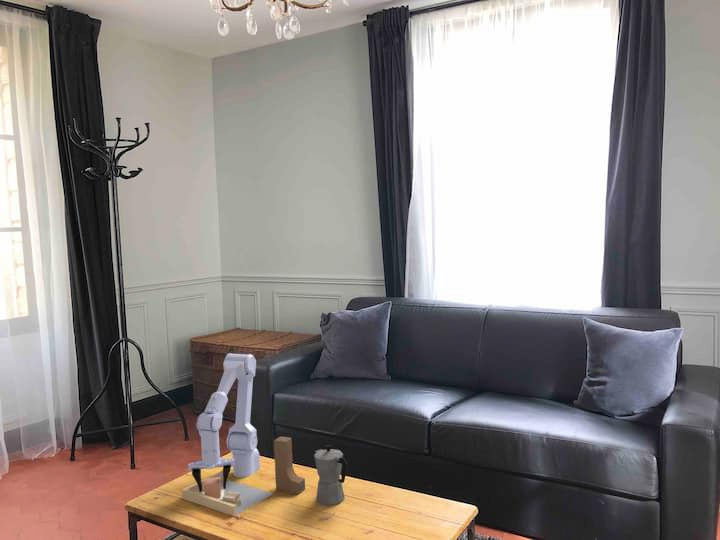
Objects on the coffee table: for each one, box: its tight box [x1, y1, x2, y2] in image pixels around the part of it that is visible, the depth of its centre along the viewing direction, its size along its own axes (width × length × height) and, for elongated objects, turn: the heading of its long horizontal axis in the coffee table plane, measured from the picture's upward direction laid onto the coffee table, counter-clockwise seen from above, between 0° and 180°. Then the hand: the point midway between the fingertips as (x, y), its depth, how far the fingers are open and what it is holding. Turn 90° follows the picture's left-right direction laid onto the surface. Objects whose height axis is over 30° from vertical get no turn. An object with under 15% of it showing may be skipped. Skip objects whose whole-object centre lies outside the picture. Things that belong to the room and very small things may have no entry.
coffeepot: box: [313, 444, 349, 507], centre depth 191 cm, size 15×9×18 cm, turn 43°
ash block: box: [223, 491, 241, 508], centre depth 187 cm, size 4×4×4 cm
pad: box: [203, 490, 224, 500], centre depth 196 cm, size 7×7×1 cm
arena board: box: [181, 469, 275, 517], centre depth 195 cm, size 18×24×4 cm
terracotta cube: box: [204, 477, 221, 498], centre depth 196 cm, size 5×5×5 cm
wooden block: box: [273, 436, 306, 495], centre depth 198 cm, size 9×4×18 cm, turn 66°
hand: (212, 489), depth 196 cm, fingers open, 7 cm apart
